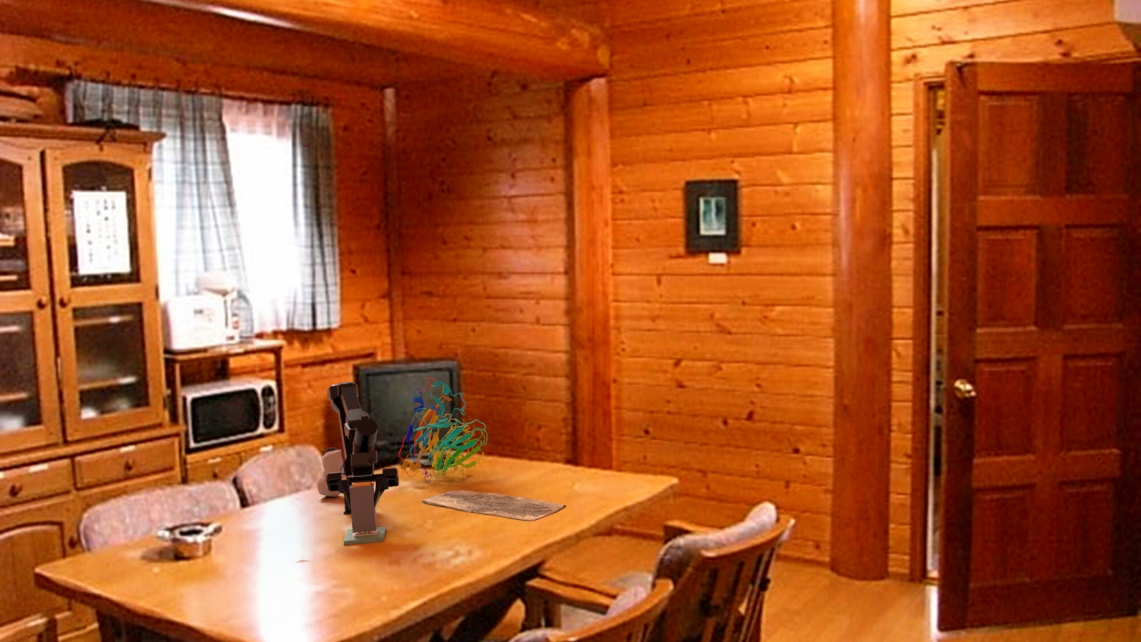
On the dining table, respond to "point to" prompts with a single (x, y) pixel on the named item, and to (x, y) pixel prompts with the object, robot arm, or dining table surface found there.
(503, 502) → the relief sculpture
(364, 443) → the robot arm
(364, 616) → the dining table surface
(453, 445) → the protein model
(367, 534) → the board
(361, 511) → the block
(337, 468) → the figurine
